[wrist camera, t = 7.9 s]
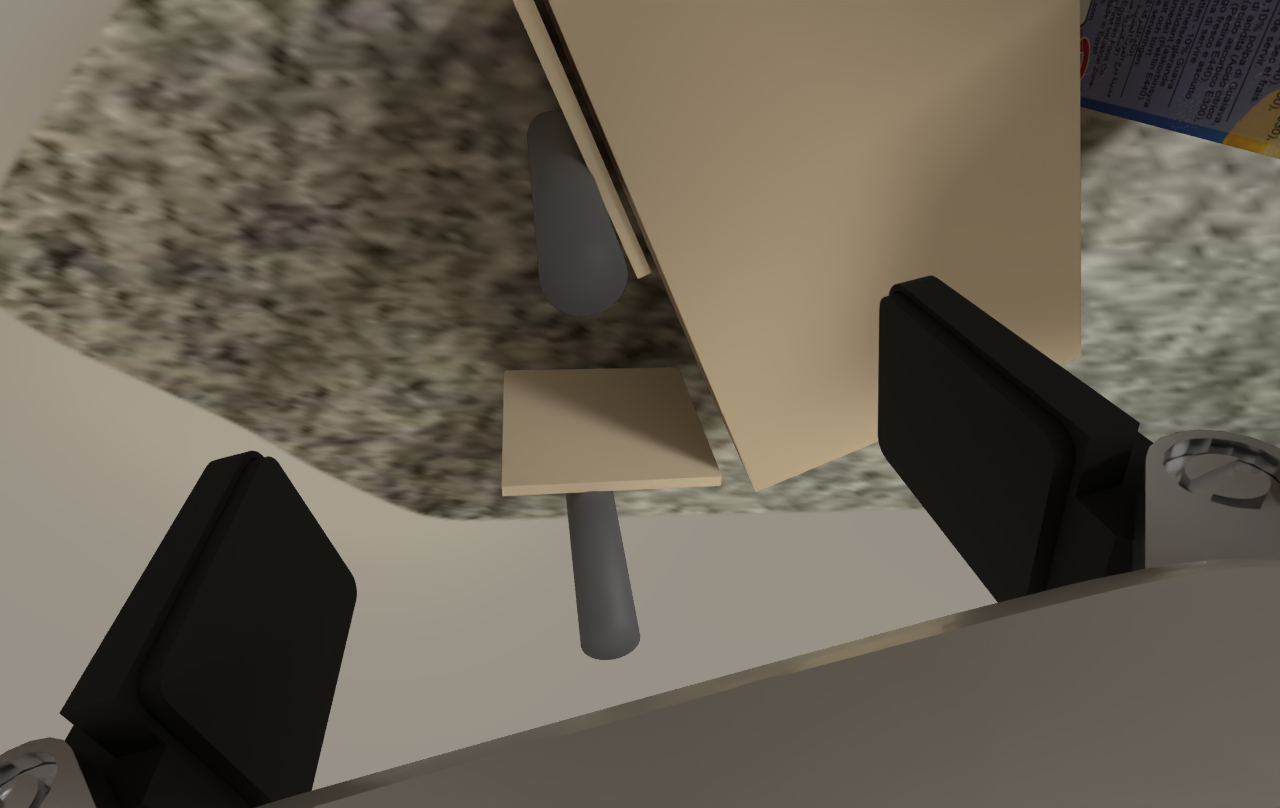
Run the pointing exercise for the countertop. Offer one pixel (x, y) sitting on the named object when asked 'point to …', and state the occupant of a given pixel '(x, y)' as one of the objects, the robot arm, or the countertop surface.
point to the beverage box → (1186, 67)
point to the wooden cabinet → (837, 185)
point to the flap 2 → (601, 471)
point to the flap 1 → (574, 198)
